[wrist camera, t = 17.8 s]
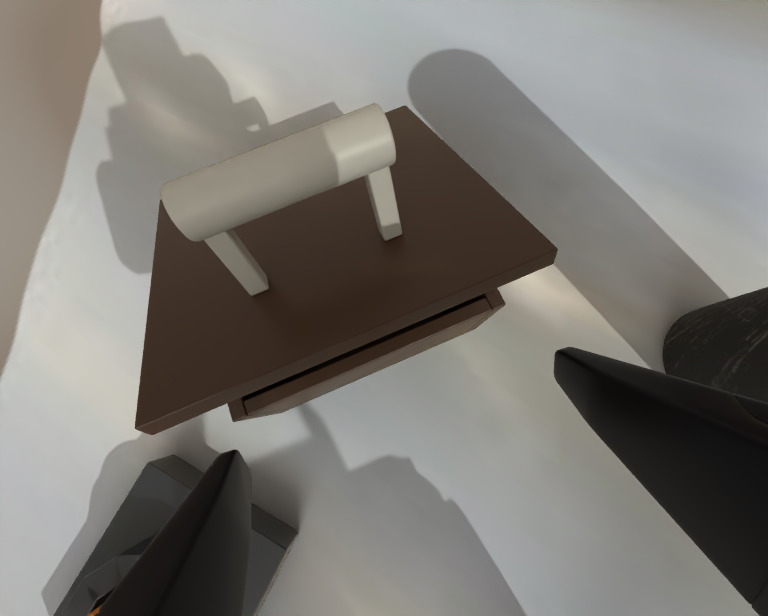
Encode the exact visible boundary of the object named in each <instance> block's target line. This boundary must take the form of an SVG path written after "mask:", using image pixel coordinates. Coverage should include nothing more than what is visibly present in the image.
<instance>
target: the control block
mask: <svg viewBox="0 0 768 616" xmlns="http://www.w3.org/2000/svg"><path fill="white" fill-rule="evenodd" d="M203 475H204V473H202V472H200V471H199V470H197V469H196V468H194V467H192V466H191V465H189V464H188V463H186V462H184V461H183V460H181V459H179V458H178V457H176V456H175V455H171V456H168V457H164V458H161V459H157V460H154V461H151V462H148V463H147V465H146V466H145V468H144V469H143V471H142V473H141V474H140V476H139V478H138V479H137V481H136V482H135V484H134V486H133V487H132V489H131V491H130V492H129V494H128V495H127V497H126V499H125V500H124V502H123V504H122V505H121V507H120V508H119V510H118V512H117V513H116V515H115V517H114V518H113V520H112V521H111V523H110V525H109V526H108V528H107V530H106V531H105V533H104V534H103V536H102V538H101V539H100V541H99V543H98V544H97V546H96V547H95V549H94V551H93V552H92V554H91V556H90V557H89V559H88V560H87V562H86V564H85V565H84V567H83V569H82V570H81V572H80V573H79V575H78V577H77V578H76V580H75V582H74V583H73V585H72V586H71V588H70V590H69V591H68V593H67V595H66V596H65V598H64V599H63V601H62V603H61V604H60V606H59V608H58V609H57V611H56V612H55V614H54V616H87V615H89V614H90V613H91V612H93V611H94V610H95V609H97V608H98V607H100V606H101V605H102V604H103V603H104V602H105V601H106V600H107V598H108V597H109V596H110V594H111V593H112V592H113V591H114V589H115V588H116V587H117V585H118V584H119V583H120V582H121V580H122V579H123V578H124V576H125V575H126V574H127V573H128V571H129V570H130V569H131V567H132V566H133V565H134V564H135V562H136V561H137V560H138V558H139V557H140V556H141V555H142V553H143V552H144V551H145V549H146V548H147V547H148V546H149V544H150V543H151V542H152V540H153V539H154V538H155V537H156V535H157V534H158V533H159V532H160V530H161V529H162V528H163V526H164V525H165V524H166V523H167V521H168V520H169V519H170V517H171V516H172V515H173V514H174V512H175V511H176V510H177V508H178V507H179V506H180V505H181V503H182V502H183V501H184V499H185V498H186V497H187V496H188V494H189V493H190V492H191V490H192V489H193V488H194V487H195V485H196V484H197V483H198V481H199V480H200V479H201V478H202V476H203ZM298 533H299V532H298V531H296V530H294V529H293V528H291V527H289V526H288V525H286V524H285V523H283V522H281V521H280V520H278V519H277V518H275V517H273V516H272V515H270V514H268V513H267V512H265V511H264V510H262V509H260V508H259V507H257V506H255V505H254V504H252V503H251V544H250V554H249V563H248V572H247V581H246V590H245V599H244V608H243V616H257V615H258V613H259V611H260V609H261V607H262V605H263V603H264V601H265V599H266V597H267V595H268V593H269V591H270V589H271V587H272V585H273V583H274V581H275V579H276V577H277V575H278V573H279V571H280V569H281V567H282V565H283V563H284V561H285V559H286V557H287V555H288V553H289V551H290V549H291V547H292V545H293V543H294V542H295V540H296V538H297V536H298Z"/></svg>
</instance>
